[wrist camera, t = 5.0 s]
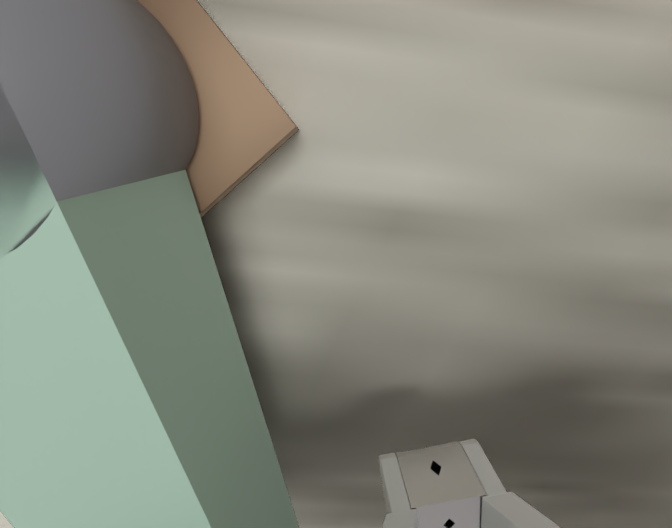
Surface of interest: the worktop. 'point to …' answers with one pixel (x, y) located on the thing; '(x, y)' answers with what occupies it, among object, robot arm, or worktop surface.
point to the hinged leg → (115, 290)
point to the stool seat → (221, 104)
